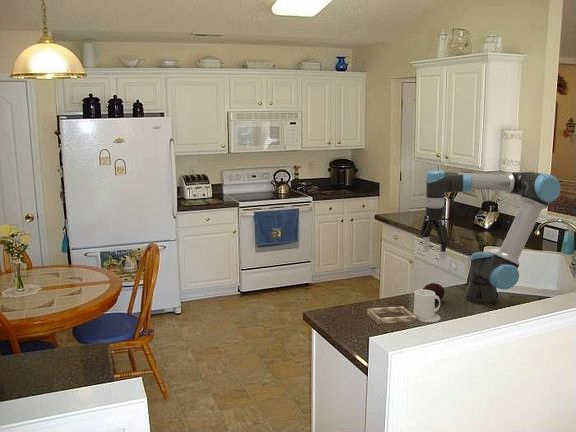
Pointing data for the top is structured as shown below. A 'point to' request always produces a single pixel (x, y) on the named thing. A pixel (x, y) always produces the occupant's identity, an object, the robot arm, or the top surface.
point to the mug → (425, 304)
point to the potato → (435, 290)
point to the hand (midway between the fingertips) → (433, 255)
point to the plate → (434, 319)
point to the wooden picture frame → (407, 318)
